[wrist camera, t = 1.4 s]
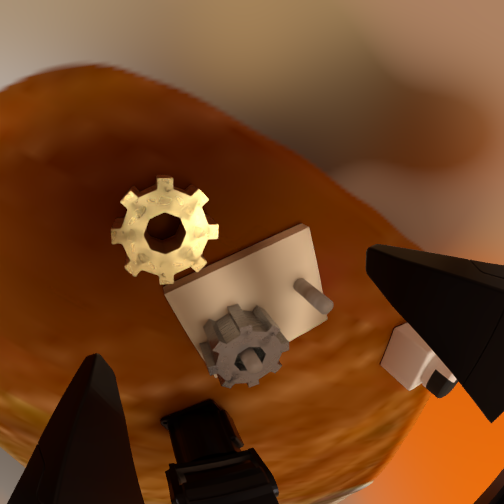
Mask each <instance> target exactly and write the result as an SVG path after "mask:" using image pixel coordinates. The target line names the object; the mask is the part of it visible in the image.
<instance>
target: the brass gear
mask: <svg viewBox="0 0 504 504" xmlns="http://www.w3.org/2000/svg"><path fill="white" fill-rule="evenodd" d="M208 200H209V199H208V198H207V197H206V196H205V195H204V194H203V193H202V191H201V190H200V189H198V188H197V187H195V186H194V185H192V184H190V185H189V186H188V187H187V188H186V189H185V190H183V189H180V188H178V187H175V186H173V178H172V177H171V176H170V175H156V184H155V185H153V186H151V187H148V188H146V189H144V190H142V191H139V190H138V189H137V188H136V187H135V186H134V185H133V186H132V187H131V188H130V189H129V191H128V192H127V193H126V194H125V195H124V197H123V198H122V200H121V202H120V203H121V204H122V205H124V206H125V207H126V208H127V209H128V210H127V213H126V215H125V217H124V218H116V219H115V221H114V223H113V226H112V228H111V238H112V244H122V245H123V247H124V249H125V251H126V253H127V254H126V260H125V267H124V268H125V269H126V270H127V271H129V272H130V273H131V274H132V275H134V276H135V277H136V276H137V274H138V273H139V272H140V271H141V270H144V271H147V272H150V273H153V274H156V275H159V281H160V285H162V284H174V274H176V273H178V272H180V271H182V270H185V269H187V268H189V267H191V268H193V269H194V270H195V271H196V272H197V273H198V272H199V271H200V270H201V269H202V268H203V267H204V266H205V265H206V264H207V261H206V259H205V258H204V256H203V254H202V252H203V250H204V247H205V245H206V243H207V241H208V239H218V224H217V223H216V222H215V221H214V220H213V219H212V218H211V217H210V216H209V215H208V214H204V212H203V209H202V206H203V205H204V204H205V203H206V202H207V201H208ZM164 212H166V213H168V214H171V215H174V216H176V217H179V219H180V224H179V226H178V229H177V231H176V234H175V235H173V236H171V237H168V238H166V239H164V240H161V239H158V238H155V237H152V236H149V233H148V231H147V229H146V227H147V224H148V221H149V219H151V218H153V217H155V216H157V215H160V214H162V213H164Z"/></svg>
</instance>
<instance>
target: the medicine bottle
mask: <svg viewBox="0 0 504 504" xmlns="http://www.w3.org/2000/svg"><path fill="white" fill-rule="evenodd" d="M381 366H382V367H383V368H384V369H385V370H386V371H388V372H389V373H390V374H391V375H392V376H393V377H394V378H395V379H396V380H398V381H399V382H400V383H401V384H402V385H403V386H404V387H405V388H406V389H407V390H409V391H410V390H412V389H414V388H415V387H417V386H418V385H420V384H421V383H423V386H424V387H425V388H427V389H428V390H429V391H430V392H431V393H432V394H434V395H435V396H436V397H437V398H442V397H444V396H446V395H447V394H448V393H449V392H450V391H451V390H452V389H453V388H454V386H455V385H456V384H457V382H458V380H457V379H456V378H455V376H454V375H453V374H452V373H451V372H450V370H449V369H448V368H447V367H446V366H445V364H444V363H443V362H442V361H441V360H440V358H439V357H438V356H437V355H436V354H435V353H434V352H433V350H432V349H431V348H430V347H429V346H428V345H427V344H426V342H425V341H424V340H423V339H422V338H421V337H420V336H419V335H418V333H417V332H416V331H415V330H414V329H413V328H412V327H411V326H410V325H409V323H405V324H403V325H401V326H398V327H396V328H394V330H393V333H392V336H391V338H390V341H389V344H388V346H387V349H386V351H385V354H384V356H383V359H382V361H381Z"/></svg>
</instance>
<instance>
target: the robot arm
mask: <svg viewBox="0 0 504 504" xmlns="http://www.w3.org/2000/svg"><path fill="white" fill-rule="evenodd" d="M366 272H367V274H368V276H369V277H370V278H371V280H372V281H373V282H374V283H375V285H376V286H377V287H378V288H379V290H380V291H381V292H382V293H383V295H384V296H385V297H386V299H387V300H388V301H389V302H390V304H391V305H392V306H393V307H394V308H395V309H396V311H397V312H398V313H399V314H400V315H401V316H402V317H403V318H404V319H405V320H406V321H407V322H408V323H409V325H410V326H411V327H412V328H413V329H414V330H415V331H416V332H417V333H418V335H419V336H420V337H421V338H422V339H423V340H424V341H425V342H426V344H427V345H428V346H429V347H430V348H431V349H432V350H433V352H434V353H435V354H436V355H437V356H438V357H439V358H440V360H441V361H442V362H443V363H444V364H445V366H446V367H447V368H448V369H449V370H450V372H451V373H452V374H453V375H454V376H455V378H456V379H457V380H458V381H459V382H460V384H461V385H462V386H463V387H464V389H465V390H466V392H467V393H468V394H469V395H470V397H471V398H472V399H473V400H474V402H475V403H476V404H477V406H478V407H479V408H480V410H481V411H482V412H483V414H484V415H485V416H486V418H487V419H488V420H489V421H490V422H491V423H492V422H493V421H494V420H496V419H497V417H499V415H501V414H502V413H503V412H504V265H498V264H491V263H485V262H479V261H474V260H468V259H463V258H458V257H452V256H447V255H441V254H435V253H429V252H424V251H418V250H412V249H406V248H400V247H393V246H387V245H381V244H375V245H373V246H371V247H369V248H368V249H367V251H366ZM160 422H161V424H162V425H163V426H164V427H165V428H166V429H167V430H169V434H170V438H171V442H172V446H173V450H174V454H175V458H176V462H177V464H174V463H171V464H169V467H170V469H169V470H167V471H165V473H166V477H167V481H168V486H169V492H170V498H171V503H172V504H279V503H278V501H277V498H276V497H278V495H279V492H278V487H277V484H276V481H275V479H274V477H273V475H272V473H271V472H270V470H269V469H268V468H267V466H266V465H265V464H264V462H263V461H262V459H261V458H260V457H259V455H258V454H257V452H256V451H255V449H254V448H250V449H248V450H245V451H241V450H240V448H241V447H243V445H244V444H243V442H242V439H241V437H240V435H239V433H238V431H237V429H236V426H235V424H234V422H233V420H232V418H231V417H230V416H229V415H228V413H227V412H226V411H225V410H223V409H222V410H221V409H220V408H219V407H218V406H217V404H216V403H215V402H214V401H213V400H207V401H205V402H202V403H200V404H198V405H195V406H193V407H190V408H188V409H185V410H183V411H180V412H178V413H175V414H172V415H170V416H167V417H164V418H162V419H161V420H160ZM7 504H144V500H143V497H142V494H141V490H140V486H139V483H138V479H137V475H136V471H135V466H134V462H133V458H132V453H131V448H130V443H129V437H128V432H127V426H126V420H125V416H124V412H123V408H122V404H121V400H120V396H119V391H118V387H117V382H116V377H115V374H114V372H113V370H112V369H111V368H110V366H109V365H108V364H107V363H106V361H105V360H104V359H103V358H102V356H101V355H100V354H98V353H95V354H92V355H89V356H87V357H86V358H85V359H84V361H83V363H82V364H81V366H80V368H79V369H78V371H77V372H76V374H75V376H74V377H73V379H72V381H71V383H70V384H69V386H68V388H67V389H66V391H65V393H64V395H63V396H62V398H61V400H60V402H59V403H58V405H57V407H56V409H55V411H54V413H53V414H52V416H51V418H50V420H49V422H48V424H47V426H46V428H45V430H44V432H43V434H42V435H41V437H40V440H39V442H38V444H37V445H36V448H35V450H34V452H33V454H32V456H31V458H30V460H29V462H28V464H27V466H26V468H25V470H24V472H23V474H22V476H21V478H20V480H19V482H18V483H17V485H16V487H15V489H14V491H13V493H12V495H11V497H10V499H9V501H8V503H7ZM474 504H504V469H503V470H502V471H501V472H500V474H499V475H498V476H497V478H496V479H495V480H494V481H493V482H492V484H491V485H490V486H489V487H488V488H487V489H486V491H485V492H484V493H483V494H482V495H481V496H480V497H479V498H478V499H477V500H476V501H475V502H474Z"/></svg>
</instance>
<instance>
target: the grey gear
mask: <svg viewBox="0 0 504 504" xmlns="http://www.w3.org/2000/svg"><path fill="white" fill-rule="evenodd" d="M227 310H228V314H226V315H225V316H223V317H221V318H220V319H218V320H217V321H214V320H212V319H208V321H207V322H206V323H205V325H204V326H203V328H204V331H205V334H206V336H207V341H206V342H203V343H199V345H200V349H201V352H202V355H203V358H204V360H205V363H206V366H207V369H208V371H209V374H210V376H211V375H214V374H217V376H218V379H219V381H220V383H221V386H224V387H227V388H231V387H232V386H233V385H234V384H235V383H247V385H248V387H251V386H254V385H257V384H259V380H258V379H260V378H261V377H263V376H264V375H266V374H267V373H269V372H270V371H271V372H274V373H276V372H277V371H278V370H279V369H280V367H281V366H282V365H281V363H280V362H279V358H280V356H281V353H282V352H285V351H288V350H289V341H288V340H287V339H286V338H285V336H284V335H283V334H282V333H281V332H280V330H281V329H280V328H279V326H278V325H277V324H276V323H275V322H274V320H273V319H272V318H271V317H270V315H269V314H268V313H267V312H266V310H265V309H263V308H261V307H259V306H258V305H257V306H256V307H255V308H254V309H253V311H244V310H242V309H241V307H240V306H239V304H235V305H231V306H227ZM248 347H252V348H253V350H254V351H255V353H256V354H257V356H258V358H259V359H260V361H261V362H262V364H263V367H262V369H261V370H260V371H259V372H257V373H254V374H251V373H249V372H248V371H247V369H246V367H245V365H244V363H243V362H242V360H241V358H240V356H239V353H240V352H242V351H243V350H245V349H246V348H248Z"/></svg>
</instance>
